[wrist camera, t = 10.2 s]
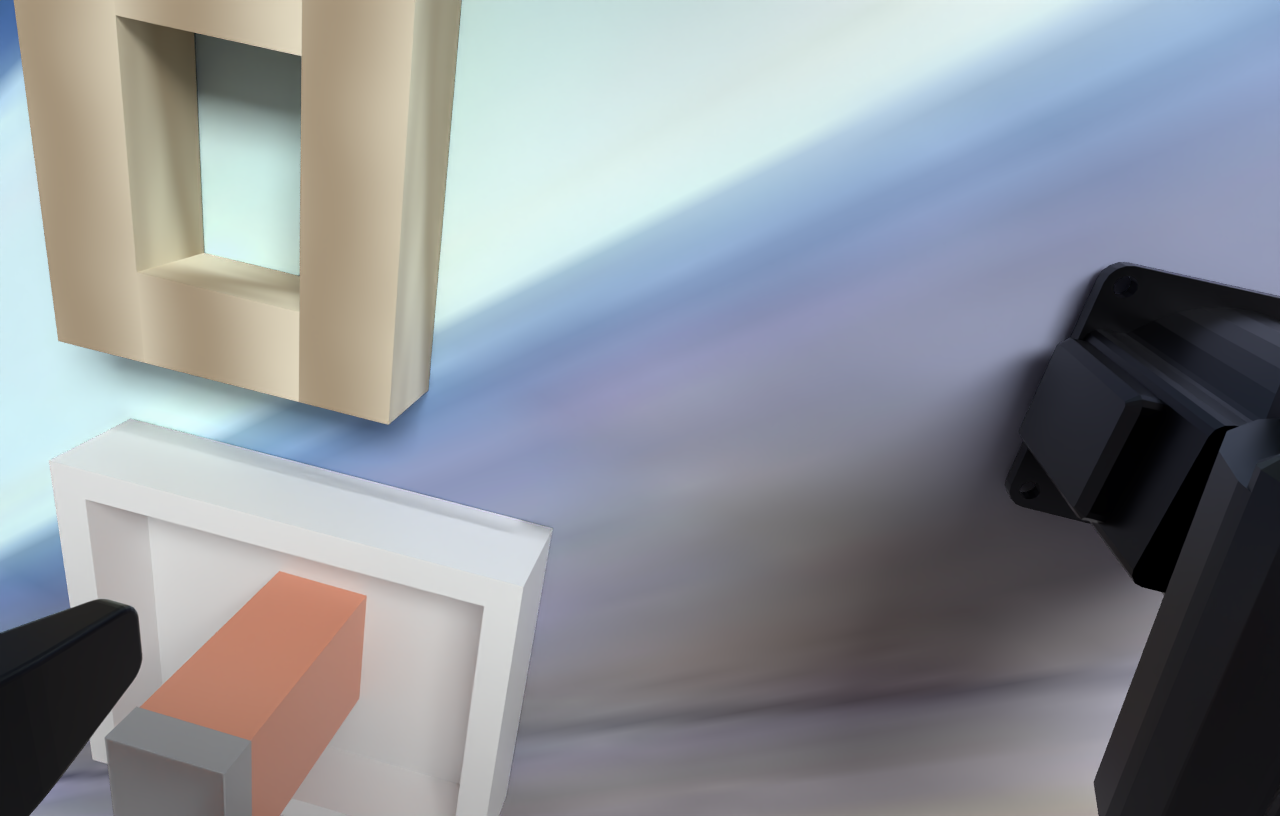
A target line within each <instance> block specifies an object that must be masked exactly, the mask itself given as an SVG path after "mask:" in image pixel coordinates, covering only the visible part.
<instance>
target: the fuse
mask: <svg viewBox="0 0 1280 816" xmlns="http://www.w3.org/2000/svg"><path fill="white" fill-rule="evenodd" d="M366 600H367V596H366V595H363V594H359V593H356V592H352V591H348V590H345V589H341V588H338V587H334V586H331V585H327V584H324V583H320V582H317V581H313V580H310V579H306V578H302V577H299V576H295V575H292V574H288V573H285V572H281V571H279V572H278V573H277V574H276V575H275V576H274V577H273V578H272V579H271V580H270V581H269V582H268V583H267V584H266V585H265V586H263V587H262V588H261V589H260V590H259V591H258V592H257V593H256V594H255V595H254V596H253V597H252V598H251V599H250V600H249V601H248V602H247V603H246V604H245V605H244V606H243V607H242V608H241V609H240V610H239V611H238V612H237V613H236V614H235V615H234V616H233V617H232V618H231V619H230V620H229V621H228V622H227V623H226V624H224V625H223V626H222V627H221V628H220V629H219V630H218V631H217V632H216V633H215V634H214V635H213V636H212V637H211V638H210V639H209V640H208V641H207V642H206V643H205V644H204V645H203V646H202V647H201V648H200V649H199V650H198V651H197V652H196V653H195V654H194V655H193V656H192V657H191V658H190V659H189V660H188V661H187V662H186V663H184V664H183V665H182V666H181V667H180V668H179V669H178V670H177V671H176V672H175V673H174V674H173V675H172V676H171V677H170V678H169V679H168V680H167V681H166V682H165V683H164V684H163V685H162V686H161V687H160V688H159V689H158V690H157V691H156V692H155V693H154V694H153V695H152V696H151V697H150V698H149V699H148V700H147V701H146V702H144V703H143V704H142V705H141V706H140V707H135V708H134V709H133V710H132V711H131V712H130V713H129V714H128V715H127V716H126V717H125V718H124V719H123V720H122V721H121V722H120V723H119V724H118V725H117V726H116V727H115V728H114V729H113V730H112V731H111V732H110V733H108V734H107V735H106V736H105V737H104V738H105V746H106V755H107V763H108V772H109V780H110V789H111V797H112V805H113V814H114V816H280V814H281V813H282V811H283V810H284V809H285V807H286V806H287V804H288V803H289V801H290V800H291V798H292V797H293V795H294V794H295V792H296V791H297V789H298V788H299V786H300V785H301V784H302V782H303V781H304V779H305V778H306V776H307V775H308V773H309V772H310V770H311V769H312V767H313V766H314V764H315V763H316V761H317V760H318V759H319V757H320V756H321V754H322V753H323V751H324V750H325V748H326V747H327V745H328V744H329V742H330V741H331V739H332V738H333V736H334V735H335V733H336V732H337V731H338V729H339V728H340V726H341V725H342V723H343V722H344V720H345V719H346V717H347V716H348V714H349V713H350V711H351V710H352V708H353V707H354V706H355V704H356V703H357V701H358V700H359V696H360V682H361V669H362V655H363V641H364V627H365V613H366Z"/></svg>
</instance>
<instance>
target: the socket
mask: <svg viewBox="0 0 1280 816" xmlns="http://www.w3.org/2000/svg"><path fill="white" fill-rule="evenodd" d="M14 6H15V13H16V21H17V29H18V36H19V44H20V51H21V59H22V67H23V74H24V82H25V90H26V97H27V105H28V112H29V120H30V128H31V135H32V143H33V151H34V158H35V166H36V173H37V181H38V189H39V196H40V204H41V212H42V219H43V227H44V235H45V242H46V250H47V257H48V265H49V273H50V280H51V288H52V296H53V303H54V311H55V318H56V326H57V334H58V341H61V342H65V343H69V344H73V345H77V346H80V347H84V348H88V349H92V350H96V351H100V352H104V353H108V354H112V355H116V356H120V357H124V358H128V359H132V360H136V361H140V362H143V363H147V364H151V365H155V366H159V367H163V368H167V369H171V370H175V371H179V372H183V373H187V374H191V375H195V376H199V377H203V378H206V379H210V380H214V381H218V382H222V383H226V384H230V385H234V386H238V387H242V388H246V389H250V390H254V391H258V392H262V393H266V394H270V395H273V396H277V397H281V398H285V399H289V400H293V401H297V402H301V403H305V404H309V405H313V406H317V407H321V408H325V409H329V410H333V411H336V412H340V413H344V414H348V415H352V416H356V417H360V418H364V419H368V420H372V421H376V422H380V423H384V424H388V425H389V424H390V423H391V422H392V421H393V420H395V419H396V418H397V417H398V416H399V415H400V414H402V413H403V412H404V411H405V410H406V409H407V408H408V407H410V406H411V405H412V404H413V403H414V402H415V401H416V400H418V399H419V398H420V397H421V396H422V395H423V394H424V393H426V392H427V391H428V387H429V376H430V364H431V352H432V341H433V329H434V317H435V305H436V294H437V282H438V270H439V258H440V247H441V235H442V223H443V211H444V200H445V188H446V176H447V165H448V153H449V141H450V129H451V118H452V106H453V94H454V82H455V71H456V59H457V47H458V35H459V24H460V12H461V0H14ZM194 33H198V34H203V35H208V36H212V37H217V38H221V39H226V40H230V41H235V42H239V43H244V44H248V45H253V46H258V47H262V48H267V49H271V50H276V51H280V52H285V53H289V54H294V55H298V56H302V58H301V181H300V276H297V275H293V274H289V273H285V272H281V271H277V270H273V269H268V268H264V267H260V266H256V265H252V264H248V263H244V262H239V261H235V260H231V259H227V258H223V257H219V256H215V255H210V254H206V253H204V241H203V219H202V196H201V174H200V152H199V129H198V107H197V84H196V62H195V39H194Z"/></svg>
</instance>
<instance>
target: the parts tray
mask: <svg viewBox="0 0 1280 816" xmlns="http://www.w3.org/2000/svg"><path fill="white" fill-rule="evenodd" d="M49 465H50V472H51V479H52V485H53V492H54V499H55V506H56V513H57V519H58V526H59V533H60V540H61V547H62V554H63V560H64V567H65V574H66V581H67V588H68V594H69V601H70V608H72V607H75V606H78V605H81V604H83V603H86V602H89V601H92V600H96V599H108V600H112V601H116V602H119V603H123V604H127V605H130V606H132V607H134V608H135V610H136V611H137V613H138V616H139V625H140V635H141V645H142V664H141V667H140V670H139V672H138V674H137V676H136V678H135V679H134V681H133V682H132V684H131V685H130V686H129V688H128V689H127V690H126V692H125V693H124V694H123V696H122V697H121V698H120V699H119V701H118V702H117V703H116V705H115V706H114V707H113V709H112V710H111V711H110V713H109V714H108V715H107V717H106V718H105V719H104V721H103V722H102V723H101V725H100V726H99V727H98V729H97V730H96V731H95V733H94V734H93V735H92V737H91V738H90V744H91V751H92V758H93V760H96V761H99V762H103V763H106V764H108V763H107V755H106V746H105V738H104V737H105V736H106V735H107V734H108V733H110V732H111V731H112V730H113V729H114V728H115V727H116V726H117V725H118V724H119V723H120V722H121V721H122V720H123V719H124V718H125V717H126V716H127V715H128V714H129V713H130V712H131V711H132V710H133V709H134V708H135V707H140V706H141V705H142V704H143V703H144V702H146V701H147V700H148V699H149V698H150V697H151V696H152V695H153V694H154V693H155V692H156V691H157V690H158V689H159V688H160V687H161V686H162V685H163V684H164V683H165V682H166V681H167V680H168V679H169V678H170V677H171V676H172V675H173V674H174V673H175V672H176V671H177V670H178V669H179V668H180V667H181V666H182V665H183V664H184V663H186V662H187V661H188V660H189V659H190V658H191V657H192V656H193V655H194V654H195V653H196V652H197V651H198V650H199V649H200V648H201V647H202V646H203V645H204V644H205V643H206V642H207V641H208V640H209V639H210V638H211V637H212V636H213V635H214V634H215V633H216V632H217V631H218V630H219V629H220V628H221V627H222V626H223V625H224V624H226V623H227V622H228V621H229V620H230V619H231V618H232V617H233V616H234V615H235V614H236V613H237V612H238V611H239V610H240V609H241V608H242V607H243V606H244V605H245V604H246V603H247V602H248V601H249V600H250V599H251V598H252V597H253V596H254V595H255V594H256V593H257V592H258V591H259V590H260V589H261V588H262V587H263V586H265V585H266V584H267V583H268V582H269V581H270V580H271V579H272V578H273V577H274V576H275V575H276V574H277V573H278V572H279V571H281V572H285V573H288V574H292V575H295V576H299V577H302V578H306V579H310V580H313V581H317V582H320V583H324V584H327V585H331V586H334V587H338V588H341V589H345V590H348V591H352V592H356V593H359V594H363V595H366V596H367V600H366V613H365V627H364V641H363V655H362V669H361V682H360V696H359V700H358V701H357V703H356V704H355V706H354V707H353V708H352V710H351V711H350V713H349V714H348V716H347V717H346V719H345V720H344V722H343V723H342V725H341V726H340V728H339V729H338V731H337V732H336V733H335V735H334V736H333V738H332V739H331V741H330V742H329V744H328V745H327V747H326V748H325V750H324V751H323V753H322V754H321V756H320V757H319V759H318V760H317V761H316V763H315V764H314V766H313V767H312V769H311V770H310V772H309V773H308V775H307V776H306V778H305V779H304V781H303V782H302V784H301V785H300V786H299V788H298V789H297V791H296V792H295V794H294V795H293V797H292V798H291V800H290V801H289V803H288V804H287V806H286V807H285V809H284V810H283V811H282V813H281V814H280V815H283V816H499V815H500V812H501V809H502V807H503V804H504V801H505V799H506V795H507V789H508V784H509V778H510V772H511V766H512V761H513V755H514V749H515V743H516V738H517V732H518V726H519V720H520V715H521V709H522V703H523V697H524V691H525V686H526V680H527V674H528V668H529V663H530V657H531V651H532V645H533V640H534V634H535V628H536V622H537V617H538V611H539V605H540V599H541V594H542V588H543V582H544V576H545V571H546V565H547V559H548V553H549V548H550V542H551V536H552V530H553V528H550V527H546V526H542V525H538V524H534V523H531V522H527V521H523V520H519V519H515V518H511V517H507V516H504V515H500V514H496V513H492V512H488V511H484V510H480V509H477V508H473V507H469V506H465V505H461V504H457V503H454V502H450V501H446V500H442V499H438V498H434V497H430V496H427V495H423V494H419V493H415V492H411V491H407V490H403V489H400V488H396V487H392V486H388V485H384V484H380V483H377V482H373V481H369V480H365V479H361V478H357V477H353V476H350V475H346V474H342V473H338V472H334V471H330V470H326V469H323V468H319V467H315V466H311V465H307V464H303V463H300V462H296V461H292V460H288V459H284V458H280V457H276V456H273V455H269V454H265V453H261V452H257V451H253V450H249V449H246V448H242V447H238V446H234V445H230V444H226V443H223V442H219V441H215V440H211V439H207V438H203V437H199V436H196V435H192V434H188V433H184V432H180V431H176V430H172V429H169V428H165V427H161V426H157V425H153V424H149V423H146V422H142V421H138V420H134V419H129V420H127V421H125V422H123V423H121V424H119V425H117V426H115V427H113V428H111V429H109V430H107V431H106V432H104V433H102V434H100V435H98V436H96V437H94V438H92V439H90V440H88V441H86V442H84V443H82V444H80V445H78V446H76V447H74V448H72V449H70V450H68V451H66V452H64V453H63V454H61V455H59V456H57V457H55V458H53V459H51V460H49Z"/></svg>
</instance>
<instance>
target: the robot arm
mask: <svg viewBox="0 0 1280 816" xmlns="http://www.w3.org/2000/svg"><path fill="white" fill-rule="evenodd" d="M1126 276H1129V277H1130V279H1131V282H1130V286H1129V287H1128V289H1127V290H1126V291H1124V292H1122V293H1120V294H1115V293H1114V291H1113V290H1114V285H1115V283H1116V282H1117V281H1118V280H1119V279H1121V278H1123V277H1126ZM1019 434H1020V436H1021V438H1022V439H1023V443H1022V445H1021V447H1020V450H1019V452H1018V454H1017V456H1016V458H1015V461H1014V463H1013V465H1012V467H1011V469H1010V472H1009V474H1008V476H1007V478H1006V483H1005V487H1006V491H1007V493H1008V494H1009V496H1010V498H1011V499H1012V500H1013V501H1014V503H1015V504H1017V505H1019V506H1022V507H1025V508H1029V509H1033V510H1037V511H1041V512H1045V513H1050V514H1054V515H1058V516H1062V517H1066V518H1070V519H1074V520H1078V521H1082V522H1086V523H1090V524H1092V526H1093V527H1094V528H1095V530H1096V531H1097V532H1098V534H1099V535H1100V536H1101V538H1102V539H1103V541H1104V542H1105V543H1106V545H1107V546H1108V547H1109V549H1110V550H1111V551H1112V553H1113V554H1114V555H1115V557H1116V558H1117V560H1118V561H1119V562H1120V564H1121V565H1122V566H1123V568H1124V569H1125V570H1126V572H1127V573H1128V575H1129V576H1130V577H1131V579H1132V580H1133V581H1134V583H1135V584H1137V585H1139V586H1141V587H1144V588H1148V589H1152V590H1156V591H1160V592H1162V593H1163V595H1164V598H1163V600H1162V603H1161V606H1160V608H1159V611H1158V613H1157V616H1156V619H1155V621H1154V624H1153V627H1152V629H1151V632H1150V635H1149V637H1148V640H1147V642H1146V645H1145V648H1144V650H1143V653H1142V656H1141V658H1140V661H1139V664H1138V666H1137V669H1136V672H1135V674H1134V677H1133V679H1132V682H1131V685H1130V687H1129V690H1128V693H1127V695H1126V698H1125V701H1124V703H1123V706H1122V708H1121V711H1120V714H1119V716H1118V719H1117V722H1116V724H1115V727H1114V730H1113V732H1112V735H1111V738H1110V740H1109V743H1108V745H1107V748H1106V751H1105V753H1104V756H1103V759H1102V761H1101V764H1100V767H1099V769H1098V772H1097V774H1096V777H1095V780H1094V788H1095V795H1096V801H1097V808H1098V815H1099V816H1280V296H1277V295H1272V294H1268V293H1263V292H1259V291H1254V290H1250V289H1245V288H1241V287H1236V286H1232V285H1227V284H1223V283H1218V282H1214V281H1209V280H1205V279H1200V278H1196V277H1191V276H1187V275H1182V274H1178V273H1173V272H1169V271H1164V270H1160V269H1155V268H1151V267H1146V266H1142V265H1137V264H1133V263H1127V262H1118V263H1115V264H1112V265H1110V266H1108V267H1107V268H1106V269H1104V270H1103V271H1102V272H1101V273H1100V275H1099V276H1098V278H1097V280H1096V282H1095V284H1094V286H1093V289H1092V291H1091V293H1090V295H1089V297H1088V300H1087V302H1086V304H1085V306H1084V308H1083V311H1082V313H1081V315H1080V317H1079V319H1078V322H1077V324H1076V326H1075V328H1074V330H1073V333H1072V335H1071V337H1070V338H1068V339H1066V340H1064V341H1063V342H1061V343H1059V344H1058V345H1057V347H1056V349H1055V351H1054V353H1053V355H1052V358H1051V360H1050V362H1049V364H1048V367H1047V369H1046V371H1045V373H1044V376H1043V378H1042V380H1041V382H1040V385H1039V387H1038V389H1037V391H1036V393H1035V396H1034V398H1033V400H1032V402H1031V405H1030V407H1029V409H1028V411H1027V414H1026V416H1025V418H1024V420H1023V423H1022V425H1021V427H1020V429H1019ZM1027 482H1035V483H1036V484H1035V487H1034V488H1033V489H1032V490H1030V491H1027V492H1021V491H1020V487H1021V486H1022V485H1023V484H1025V483H1027ZM141 664H142V645H141V635H140V625H139V616H138V613H137V611H136V610H135V608H134V607H132V606H130V605H127V604H123V603H119V602H116V601H112V600H108V599H96V600H92V601H89V602H86V603H83V604H81V605H78V606H75V607H72V608H69V609H66V610H64V611H61V612H58V613H55V614H52V615H49V616H47V617H44V618H41V619H38V620H35V621H32V622H30V623H27V624H24V625H21V626H18V627H15V628H12V629H10V630H7V631H4V632H1V633H0V816H29V815H30V814H31V813H32V812H33V811H34V810H35V808H36V807H37V806H38V805H39V804H40V803H41V801H42V800H43V799H44V798H45V797H46V795H47V794H48V793H49V792H50V790H51V789H52V788H53V787H54V785H55V784H56V783H57V782H58V780H59V779H60V778H61V777H62V775H63V774H64V773H65V771H66V770H67V769H68V767H69V766H70V765H71V763H72V762H73V761H74V759H75V758H76V757H77V755H78V754H79V753H80V751H81V750H82V749H83V747H84V746H85V745H86V743H87V742H88V741H89V739H90V738H91V737H92V735H93V734H94V733H95V731H96V730H97V729H98V727H99V726H100V725H101V723H102V722H103V721H104V719H105V718H106V717H107V715H108V714H109V713H110V711H111V710H112V709H113V707H114V706H115V705H116V703H117V702H118V701H119V699H120V698H121V697H122V696H123V694H124V693H125V692H126V690H127V689H128V688H129V686H130V685H131V684H132V682H133V681H134V679H135V678H136V676H137V674H138V672H139V670H140V667H141Z"/></svg>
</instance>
